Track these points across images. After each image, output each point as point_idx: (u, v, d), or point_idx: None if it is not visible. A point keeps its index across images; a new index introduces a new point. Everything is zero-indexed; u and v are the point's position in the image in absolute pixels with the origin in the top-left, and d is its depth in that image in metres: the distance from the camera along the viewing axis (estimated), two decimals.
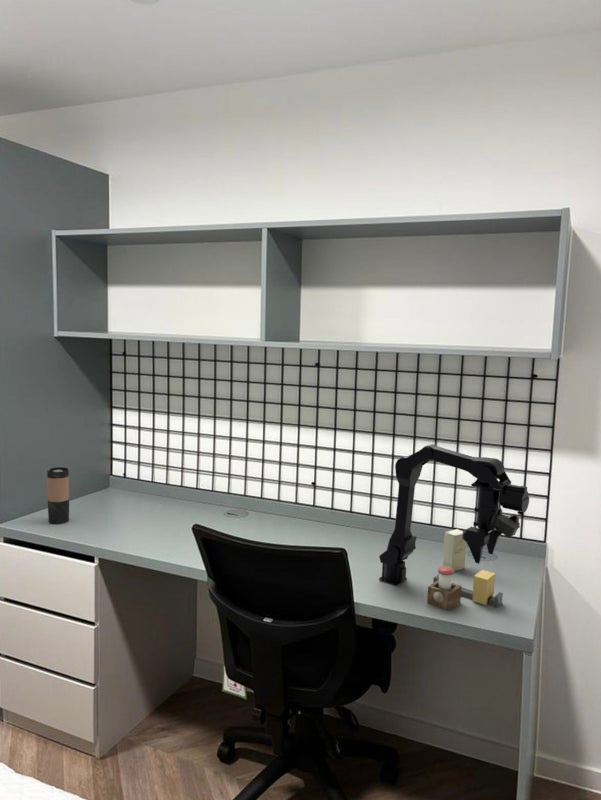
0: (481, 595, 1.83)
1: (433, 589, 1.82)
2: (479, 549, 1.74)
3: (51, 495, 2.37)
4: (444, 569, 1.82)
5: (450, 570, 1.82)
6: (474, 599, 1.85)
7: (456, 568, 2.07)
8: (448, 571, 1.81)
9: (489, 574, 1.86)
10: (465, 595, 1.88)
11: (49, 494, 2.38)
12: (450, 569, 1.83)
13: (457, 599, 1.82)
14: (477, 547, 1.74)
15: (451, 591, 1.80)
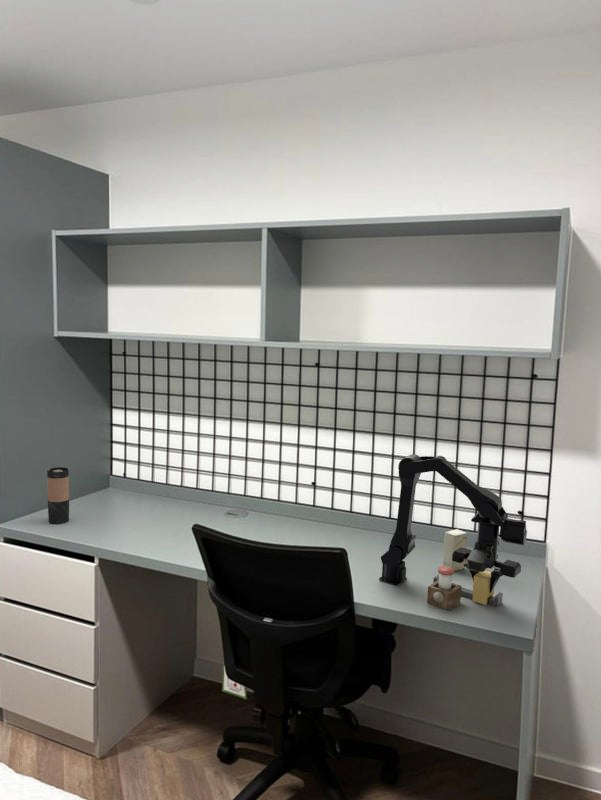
0: (481, 595, 1.83)
1: (433, 589, 1.82)
2: None
3: (51, 495, 2.37)
4: (444, 569, 1.82)
5: (450, 570, 1.82)
6: (474, 599, 1.85)
7: (456, 568, 2.07)
8: (448, 571, 1.81)
9: (489, 574, 1.86)
10: (465, 595, 1.88)
11: (49, 494, 2.38)
12: (450, 569, 1.83)
13: (457, 599, 1.82)
14: None
15: (451, 591, 1.80)
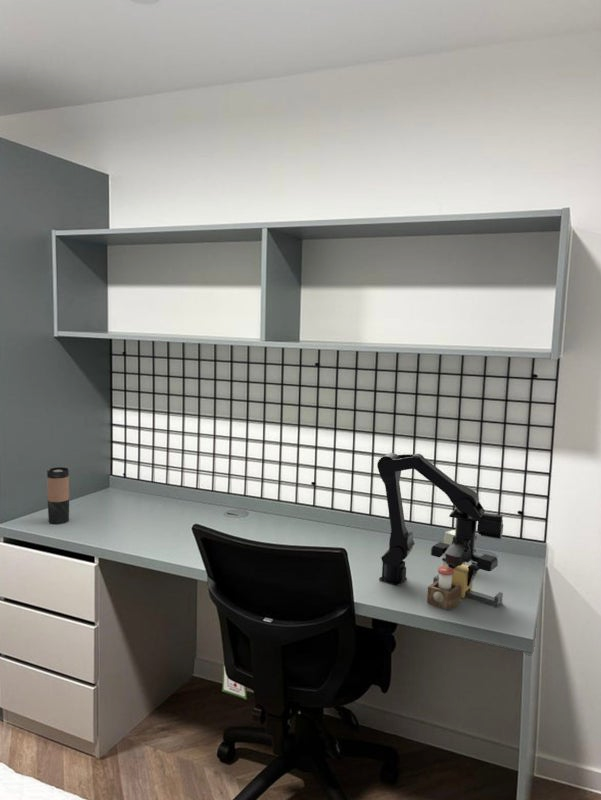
0: None
1: (433, 589, 1.82)
2: None
3: (51, 495, 2.37)
4: (444, 569, 1.82)
5: (450, 570, 1.82)
6: None
7: None
8: (448, 571, 1.81)
9: (467, 567, 1.90)
10: (465, 595, 1.88)
11: (49, 494, 2.38)
12: (450, 569, 1.83)
13: (457, 599, 1.82)
14: None
15: (451, 591, 1.80)
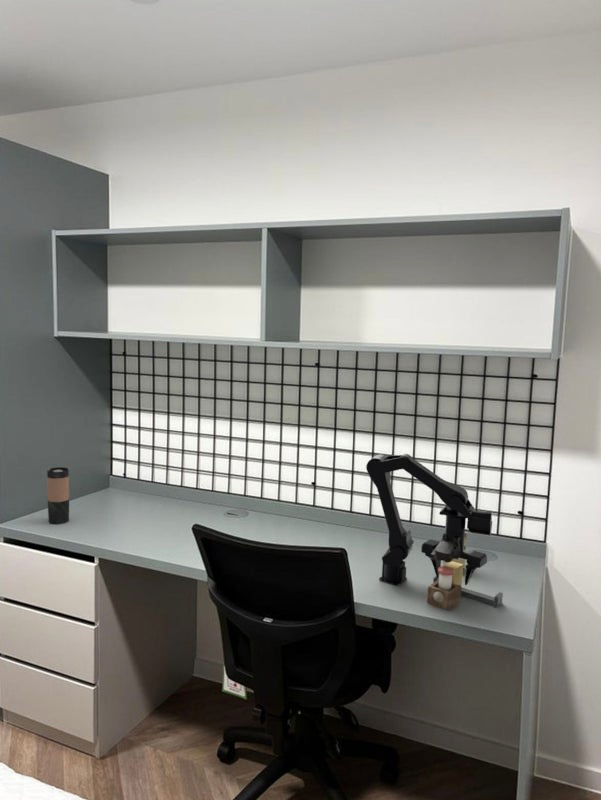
0: None
1: (433, 589, 1.82)
2: None
3: (51, 495, 2.37)
4: (444, 569, 1.82)
5: (450, 570, 1.82)
6: None
7: None
8: (448, 571, 1.81)
9: (456, 565, 1.92)
10: (465, 595, 1.88)
11: (49, 494, 2.38)
12: (450, 569, 1.83)
13: (457, 599, 1.82)
14: None
15: (451, 591, 1.80)
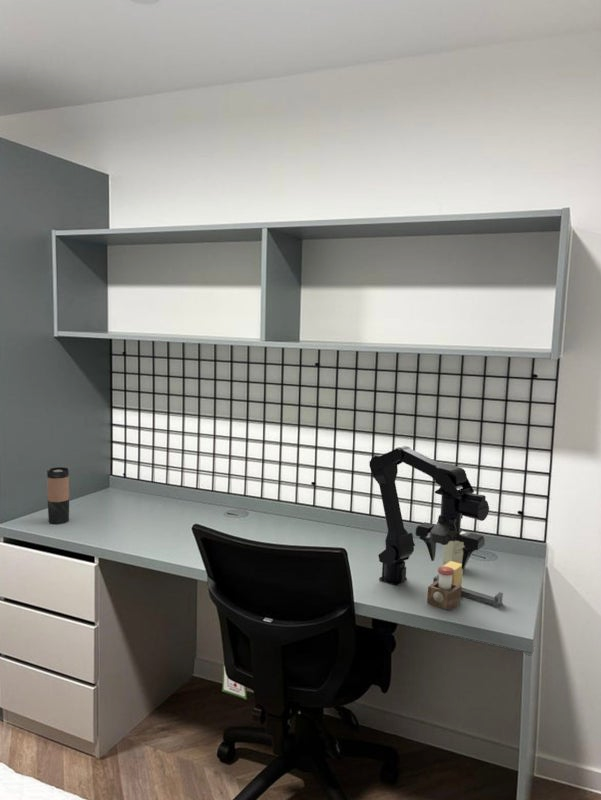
0: None
1: (433, 589, 1.82)
2: None
3: (51, 495, 2.37)
4: (444, 569, 1.82)
5: (450, 570, 1.82)
6: None
7: None
8: (448, 571, 1.81)
9: (456, 565, 1.92)
10: (465, 595, 1.88)
11: (49, 494, 2.38)
12: (450, 569, 1.83)
13: (457, 599, 1.82)
14: None
15: (451, 591, 1.80)
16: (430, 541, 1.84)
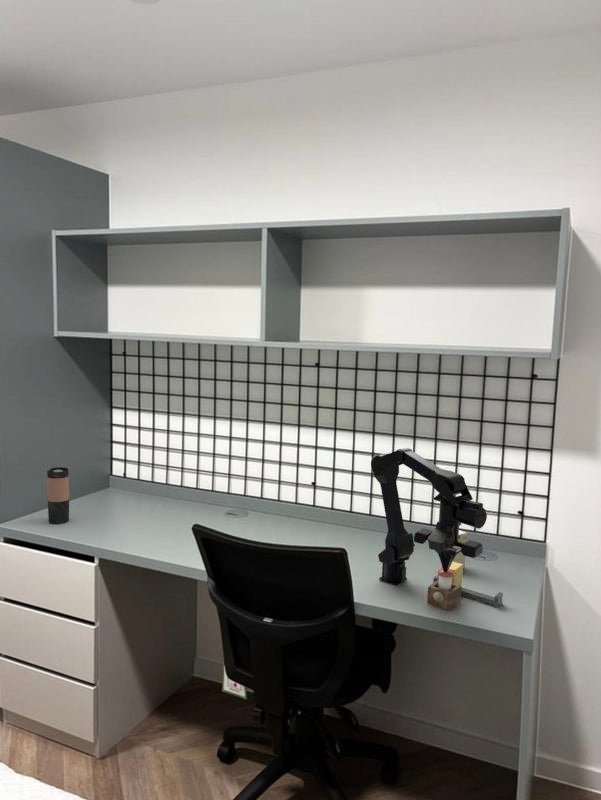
0: None
1: (433, 589, 1.82)
2: None
3: (51, 495, 2.37)
4: None
5: (450, 572, 1.82)
6: None
7: None
8: (448, 573, 1.81)
9: (456, 565, 1.92)
10: (465, 595, 1.88)
11: (49, 494, 2.38)
12: (450, 571, 1.83)
13: (457, 599, 1.82)
14: None
15: (451, 591, 1.80)
16: (442, 551, 1.81)
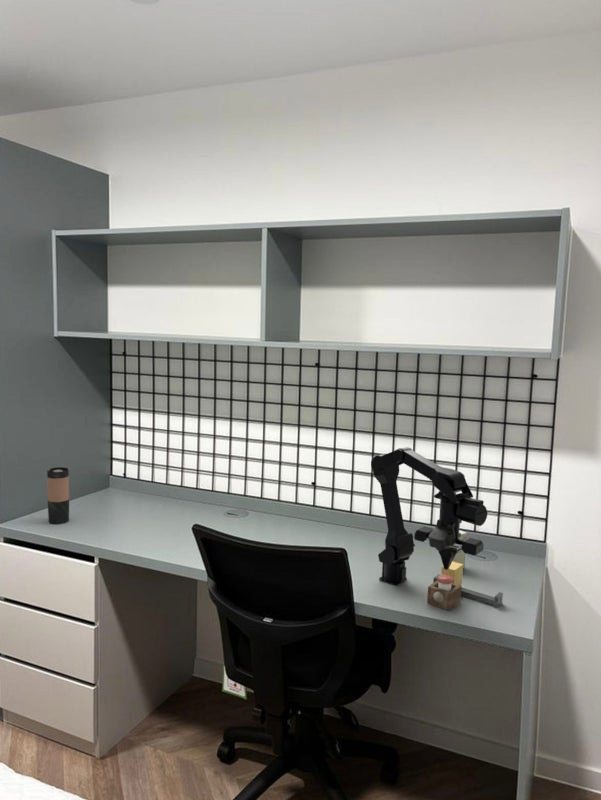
0: None
1: (433, 589, 1.82)
2: None
3: (51, 495, 2.37)
4: (443, 578, 1.83)
5: (449, 578, 1.82)
6: None
7: None
8: (447, 579, 1.82)
9: (456, 565, 1.92)
10: (465, 595, 1.88)
11: (49, 494, 2.38)
12: (449, 577, 1.83)
13: (457, 599, 1.82)
14: None
15: (451, 591, 1.80)
16: (443, 549, 1.81)
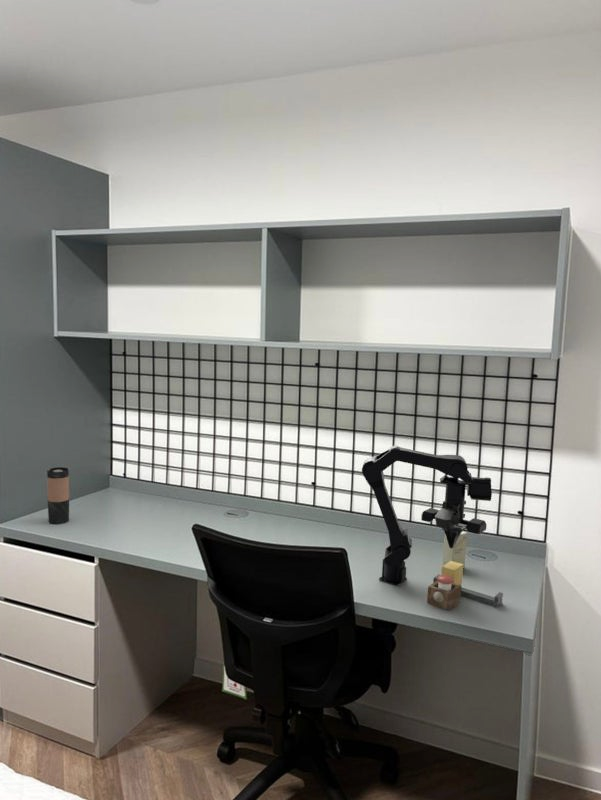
0: None
1: (433, 589, 1.82)
2: None
3: (51, 495, 2.37)
4: (443, 578, 1.83)
5: (449, 578, 1.82)
6: None
7: None
8: (447, 579, 1.82)
9: (456, 565, 1.92)
10: (465, 595, 1.88)
11: (49, 494, 2.38)
12: (449, 577, 1.83)
13: (457, 599, 1.82)
14: None
15: (451, 591, 1.80)
16: (448, 529, 1.93)
